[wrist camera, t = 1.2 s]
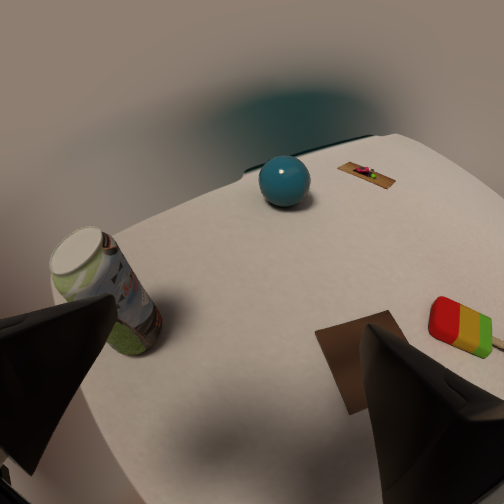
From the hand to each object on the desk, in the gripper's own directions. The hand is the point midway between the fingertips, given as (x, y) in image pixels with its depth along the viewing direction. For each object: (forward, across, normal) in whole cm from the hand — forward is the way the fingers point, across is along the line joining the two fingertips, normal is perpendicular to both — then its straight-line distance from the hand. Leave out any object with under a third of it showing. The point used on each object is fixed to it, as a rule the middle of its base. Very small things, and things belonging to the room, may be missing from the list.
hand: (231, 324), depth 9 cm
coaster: (+12, -11, +11) cm, 20 cm away
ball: (+37, -2, +1) cm, 37 cm away
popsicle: (+14, -26, +10) cm, 32 cm away
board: (+52, -20, -6) cm, 56 cm away
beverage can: (+12, +12, +11) cm, 20 cm away
